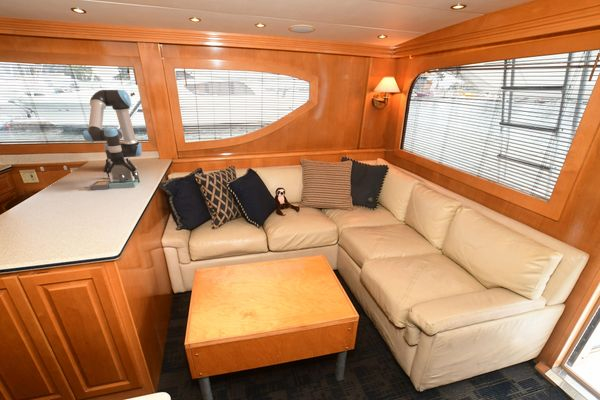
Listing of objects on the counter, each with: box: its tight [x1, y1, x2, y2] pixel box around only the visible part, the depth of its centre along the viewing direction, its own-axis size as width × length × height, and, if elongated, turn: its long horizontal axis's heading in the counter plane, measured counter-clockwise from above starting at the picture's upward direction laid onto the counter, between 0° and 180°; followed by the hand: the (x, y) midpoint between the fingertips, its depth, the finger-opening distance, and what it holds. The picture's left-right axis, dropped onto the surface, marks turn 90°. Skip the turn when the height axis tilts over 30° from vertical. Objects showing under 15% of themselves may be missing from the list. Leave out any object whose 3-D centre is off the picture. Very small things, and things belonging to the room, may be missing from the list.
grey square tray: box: [90, 179, 112, 191], centre depth 192 cm, size 10×10×4 cm
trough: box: [108, 179, 139, 190], centre depth 195 cm, size 8×16×4 cm, turn 104°
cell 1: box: [118, 173, 127, 183], centre depth 194 cm, size 4×4×9 cm
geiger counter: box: [107, 161, 139, 180], centre depth 209 cm, size 14×6×25 cm
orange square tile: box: [95, 180, 109, 185], centre depth 192 cm, size 7×7×1 cm
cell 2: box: [134, 170, 141, 184], centre depth 203 cm, size 4×4×9 cm
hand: (123, 180), depth 194 cm, fingers open, 13 cm apart
